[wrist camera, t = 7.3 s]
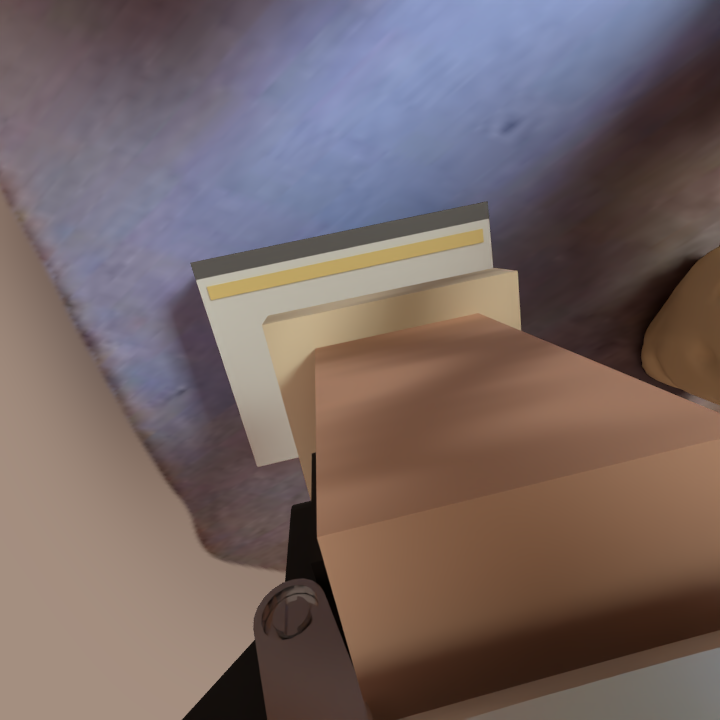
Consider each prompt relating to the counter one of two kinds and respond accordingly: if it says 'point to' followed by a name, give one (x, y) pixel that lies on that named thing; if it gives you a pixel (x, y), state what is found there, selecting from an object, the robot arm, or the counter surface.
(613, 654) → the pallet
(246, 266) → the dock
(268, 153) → the counter surface
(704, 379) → the container
